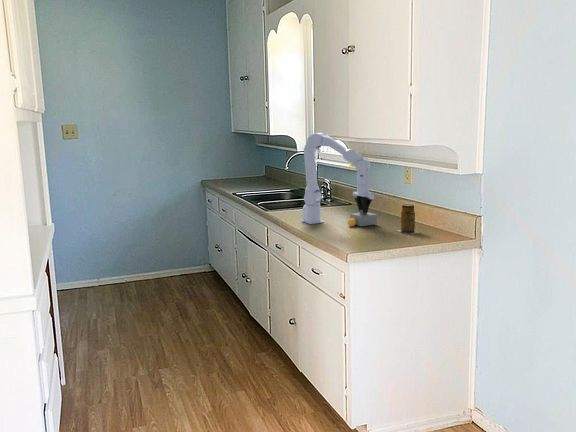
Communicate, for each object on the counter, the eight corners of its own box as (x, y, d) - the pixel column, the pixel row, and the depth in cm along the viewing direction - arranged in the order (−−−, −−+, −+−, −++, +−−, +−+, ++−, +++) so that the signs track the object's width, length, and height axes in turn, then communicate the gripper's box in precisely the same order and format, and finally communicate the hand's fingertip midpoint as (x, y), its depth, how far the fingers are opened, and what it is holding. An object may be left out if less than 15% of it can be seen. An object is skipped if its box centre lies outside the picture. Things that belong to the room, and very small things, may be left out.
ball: (345, 226, 269) (345, 218, 268) (352, 225, 271) (352, 217, 270) (350, 227, 266) (350, 219, 265) (357, 226, 268) (357, 218, 267)
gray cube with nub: (350, 223, 273) (350, 209, 272) (365, 221, 278) (365, 207, 276) (361, 226, 266) (361, 212, 264) (376, 224, 270) (376, 210, 269)
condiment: (411, 229, 258) (411, 203, 256) (420, 233, 250) (420, 206, 248) (396, 230, 256) (396, 204, 254) (405, 234, 248) (405, 207, 246)
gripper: (379, 184, 264) (379, 213, 266) (360, 182, 276) (361, 209, 279) (367, 186, 260) (367, 215, 263) (349, 183, 273) (349, 211, 275)
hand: (363, 212), depth 271 cm, fingers closed on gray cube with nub, 2 cm apart
